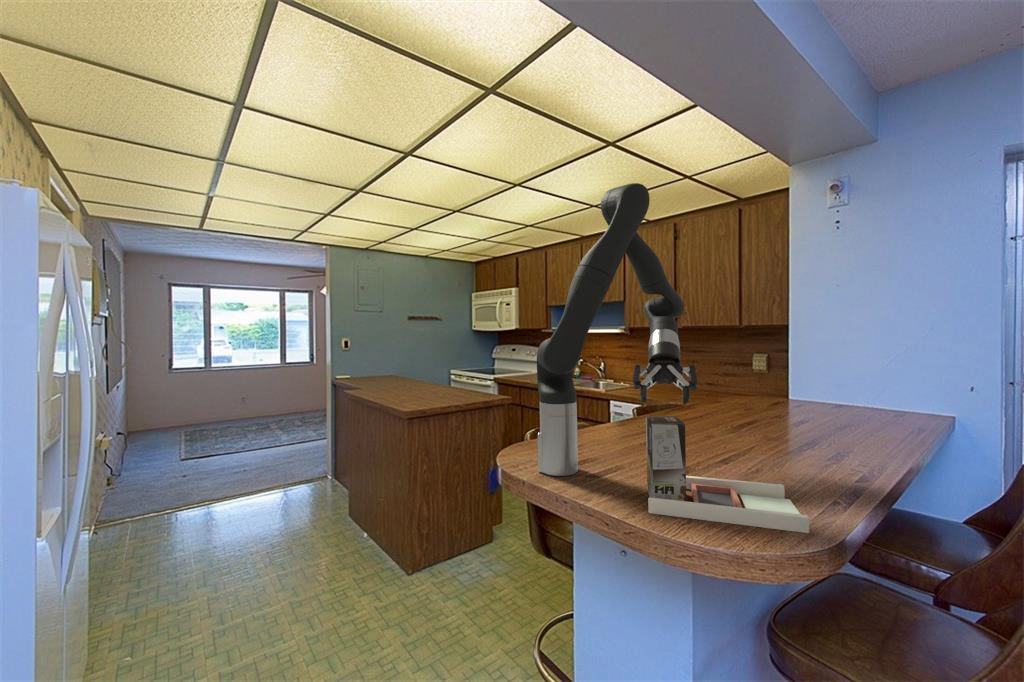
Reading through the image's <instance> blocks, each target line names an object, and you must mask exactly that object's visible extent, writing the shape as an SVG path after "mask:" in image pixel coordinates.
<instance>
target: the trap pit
mask: <svg viewBox="0 0 1024 682" xmlns="http://www.w3.org/2000/svg"><path fill="white" fill-rule="evenodd" d="M691 496H692V502H695V503H704V504H713V505H722V506H731V507H740V508H743V506H742V505H743V504H742V503H741V500H740V498H739V496H738V494H736V491H735V489H734V487H724V486H713V485H703V484H693V483H691Z"/></svg>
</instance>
